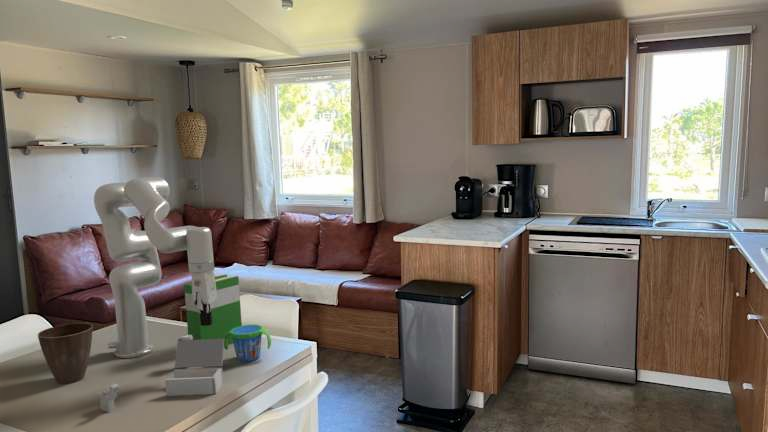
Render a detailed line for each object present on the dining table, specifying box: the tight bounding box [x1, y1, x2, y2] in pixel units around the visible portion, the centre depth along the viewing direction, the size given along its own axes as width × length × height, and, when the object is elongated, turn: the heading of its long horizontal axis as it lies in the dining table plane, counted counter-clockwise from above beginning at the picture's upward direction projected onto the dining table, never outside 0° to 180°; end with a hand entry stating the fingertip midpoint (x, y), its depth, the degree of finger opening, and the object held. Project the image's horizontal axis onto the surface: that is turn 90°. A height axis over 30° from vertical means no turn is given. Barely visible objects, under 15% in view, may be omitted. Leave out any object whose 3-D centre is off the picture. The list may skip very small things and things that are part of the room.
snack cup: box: [224, 324, 272, 363], centre depth 188 cm, size 16×10×10 cm
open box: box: [164, 366, 224, 397], centre depth 164 cm, size 14×8×5 cm, turn 90°
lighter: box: [99, 383, 120, 413], centre depth 152 cm, size 7×2×8 cm, turn 56°
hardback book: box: [183, 274, 243, 346], centre depth 202 cm, size 18×7×24 cm, turn 144°
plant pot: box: [37, 322, 94, 385], centre depth 175 cm, size 15×15×16 cm
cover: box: [174, 339, 225, 369], centre depth 170 cm, size 14×8×1 cm
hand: (206, 324), depth 176 cm, fingers closed
